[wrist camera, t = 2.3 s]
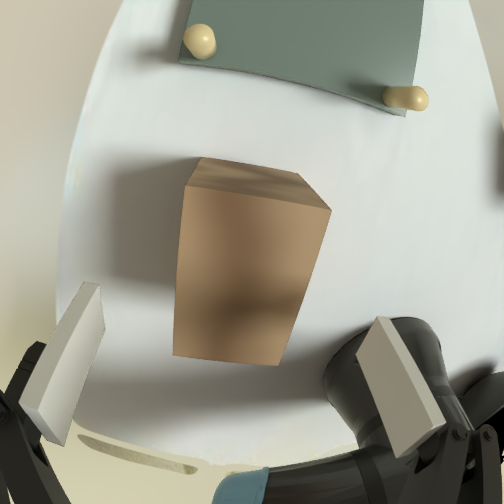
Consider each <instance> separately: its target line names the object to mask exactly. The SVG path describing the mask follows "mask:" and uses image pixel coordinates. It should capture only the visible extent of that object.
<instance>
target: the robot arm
mask: <svg viewBox="0 0 504 504" xmlns="http://www.w3.org/2000/svg"><path fill="white" fill-rule="evenodd" d="M104 332H105V324H104V317H103V311H102V304H101V296H100V288H99V284H93V283H88V282H84V283H83V284H82V286H81V288H80V289H79V291H78V292H77V294H76V295H75V297H74V299H73V300H72V302H71V303H70V305H69V307H68V308H67V310H66V312H65V313H64V315H63V317H62V318H61V320H60V322H59V324H58V325H57V327H56V329H55V331H54V332H53V334H52V336H51V338H50V339H49V341H48V343H47V344H44V343H41V342H38V341H36V342H35V343H34V344H33V345H32V346H30V347H29V348H28V350H27V351H26V353H25V355H24V356H23V359H22V361H21V362H20V364H19V366H18V369H16V371H15V373H14V375H13V377H12V379H11V381H10V383H9V385H8V387H7V389H6V391H5V393H3V392H2V391H1V390H0V504H10V499H9V495H8V490H9V492H10V495H11V497H12V499H13V502H14V504H71V503H70V501H69V499H68V497H67V496H66V494H65V492H64V490H63V489H62V486H61V485H60V483H59V481H58V479H57V477H56V475H55V473H54V471H53V469H52V467H51V465H50V462H49V460H48V458H47V456H46V454H45V451H44V449H43V447H42V445H41V443H40V438H41V435H43V436H44V438H45V439H46V440H47V441H50V442H52V443H55V444H58V445H61V446H64V445H65V442H66V438H67V435H68V431H69V428H70V425H71V422H72V418H73V415H74V412H75V409H76V406H77V403H78V400H79V397H80V394H81V392H82V389H83V386H84V383H85V380H86V378H87V375H88V372H89V370H90V367H91V364H92V362H93V359H94V357H95V354H96V352H97V349H98V347H99V344H100V342H101V339H102V337H103V335H104ZM323 383H324V387H325V391H326V394H327V398H328V400H329V402H330V404H331V405H332V406H333V407H334V408H335V409H336V410H337V412H338V413H339V414H340V416H341V417H342V419H343V420H344V421H345V422H346V424H347V425H348V426H349V428H350V429H351V430H352V431H353V433H354V434H355V437H356V439H357V443H358V446H359V449H358V450H354V451H351V452H347V453H343V454H339V455H335V456H332V457H327V458H323V459H319V460H313V461H308V462H303V463H298V464H292V465H286V466H280V467H273V468H269V467H264V468H263V469H261V470H255V471H249V472H242V473H235V474H231V475H229V476H227V477H225V478H224V479H223V480H222V481H221V483H220V484H219V485H218V487H217V489H216V491H215V494H214V498H213V501H212V504H502V476H501V463H500V453H499V445H498V438H497V433H496V431H495V429H494V428H493V427H492V426H491V425H488V424H484V425H483V426H481V427H480V428H479V429H478V430H477V431H475V430H474V428H473V426H472V424H471V422H470V420H469V418H468V417H467V415H466V413H465V411H464V409H463V408H462V406H461V404H460V402H459V401H458V399H457V397H456V395H455V393H454V392H453V390H452V388H451V387H450V385H449V382H448V378H447V373H446V369H445V364H444V360H443V357H442V353H441V345H440V341H439V339H438V337H437V336H436V334H435V333H434V331H433V330H432V328H431V327H430V326H429V325H428V324H427V323H426V322H425V321H423V320H420V319H416V318H400V319H395V320H390V319H389V317H376V319H375V321H374V322H373V324H372V326H371V328H370V329H369V330H367V331H365V332H363V333H362V334H360V335H358V336H357V337H355V338H354V339H353V340H351V341H350V342H349V343H347V344H346V345H345V346H344V347H343V348H342V349H341V350H340V351H339V352H338V353H337V354H336V355H335V356H334V357H333V359H332V360H331V361H330V363H329V364H328V366H327V368H326V370H325V373H324V378H323ZM7 488H8V490H7Z"/></svg>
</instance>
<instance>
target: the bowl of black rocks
mask: <svg viewBox="0 0 504 504" xmlns="http://www.w3.org/2000/svg"><path fill="white" fill-rule="evenodd" d="M460 404H461V406H462V408H463V409H464V411H465V413H466V415H467V417H468V418H469V420H470V422H471V424H472V426H473V428H474V430H475V431H477V430H478V429H479V428H480V427H481V426H483V425H484V424H488V425H491V426H492V427H493V428H494V429H495V431H496V433H497V438H498V445H499V453H500V463H501V464H502V463H503V461H504V460H503V459H504V456H502V454H503V451H504V372H498V373H494V374H491V375H489V376H487V377H485V378H483V379H481V380H480V381H478V382H477V383H476V384H474V385H473V386H472V387H471V388H470V389H469V390H468V391H467V392H466V393H465V395H464V396H463V397H462V399H461V400H460Z"/></svg>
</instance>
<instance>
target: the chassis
mask: <svg viewBox="0 0 504 504" xmlns="http://www.w3.org/2000/svg"><path fill="white" fill-rule="evenodd" d="M423 5H424V0H193V2H192V5H191V9H190V13H189V17H188V21H187V24H186V29H185V33H184V35H183V41H182V45H181V50H180V54H179V59H178V61H179V62H180V63H181V64H187V65H197V66H206V67H215V68H222V69H229V70H235V71H242V72H247V73H253V74H258V75H263V76H268V77H273V78H278V79H282V80H286V81H291V82H295V83H299V84H303V85H307V86H310V87H314V88H318V89H321V90H325V91H328V92H331V93H335V94H338V95H341V96H344V97H347V98H350V99H353V100H356V101H359V102H362V103H365V104H367V105H370V106H373V107H376V108H378V109H381V110H383V111H386V112H388V113H391V114H393V115H397V116H403V117H405V116H406V112H407V110H414V111H423V110H425V109H426V108H427V106H428V102H429V100H428V95H427V93H426V91H425V90H424V89H423V88H421V87H419V86H412V83H413V78H414V72H415V67H416V61H417V54H418V48H419V41H420V33H421V25H422V15H423Z"/></svg>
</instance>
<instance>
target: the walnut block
mask: <svg viewBox="0 0 504 504" xmlns="http://www.w3.org/2000/svg"><path fill="white" fill-rule="evenodd" d="M331 212H332V210H331V209H330V208H329V206H328V205H327V204H326V203H325V202H324V201H323V200H322V199H321V198H320V196H319V195H318V194H317V193H316V192H315V191H314V190H313V189H312V188H311V187H310V186H309V185H308V183H307V182H306V181H305V180H304V179H303V178H302V177H301V176H300V175H299V174H298V173H293V172H288V171H283V170H278V169H273V168H267V167H262V166H256V165H251V164H245V163H239V162H233V161H226V160H220V159H213V158H206V157H201V159H200V161H199V162H198V164H197V166H196V168H195V169H194V171H193V173H192V174H191V176H190V178H189V180H188V181H187V183H186V185H185V191H184V199H183V208H182V217H181V227H180V237H179V249H178V261H177V274H176V289H175V307H174V330H173V355H175V356H182V357H189V358H197V359H205V360H213V361H223V362H233V363H245V364H258V365H274V366H279V363H280V360H281V358H282V355H283V353H284V350H285V347H286V345H287V342H288V340H289V337H290V334H291V332H292V329H293V326H294V323H295V321H296V318H297V315H298V312H299V310H300V307H301V304H302V301H303V298H304V295H305V293H306V290H307V287H308V284H309V281H310V278H311V275H312V272H313V269H314V266H315V263H316V260H317V257H318V254H319V251H320V247H321V244H322V241H323V238H324V235H325V232H326V228H327V225H328V222H329V218H330V215H331Z"/></svg>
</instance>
